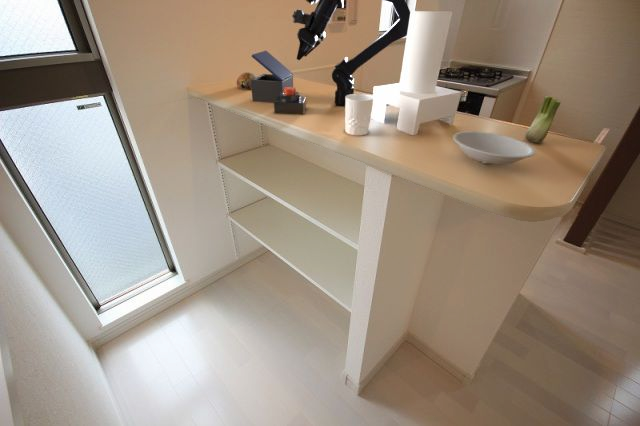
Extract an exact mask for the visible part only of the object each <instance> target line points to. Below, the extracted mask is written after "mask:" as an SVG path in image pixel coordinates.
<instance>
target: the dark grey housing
mask: <svg viewBox="0 0 640 426" xmlns="http://www.w3.org/2000/svg"><path fill="white" fill-rule="evenodd" d="M250 82H251V89H250V90H251V99H252V102H260V103H269V104H274V101H275V100H276V99H277V97H278V96H280V93H281V92H284V88H285V87H294V75H292V76H290V77H288V78H287V79H285V80H283V81H280V80H279V79H278V78H276V77H275V76H274V75H273V74H272V73H262V74H260V75H258V76H256V78H253V79H251V80H250Z"/></svg>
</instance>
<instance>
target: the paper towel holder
mask: <svg viewBox="0 0 640 426" xmlns="http://www.w3.org/2000/svg"><path fill="white" fill-rule="evenodd" d="M452 16H453V11H435V10H434V11H433V10H410V19H409V25H408V31H407V36H406V37H405V45H404V51H403V52H404V53H403V57H402V64H401V71H400V77H399V82H397V83H390V84H384V85H376V86H373V89H372V97H373V98H374V99H373V106H372V112H371V118H370V120H373V121H376V122H377V123H378V122H379V123H381V124H385V117H386V111H387V107H388V106H392V107H394V108H398V109H399V110H398V115H397V116H398V117H397V123H396V130H398V131H400V132H403V133H406V134H407V135H411V136H416V135H418V132H419V128H420V124H425V123H427V122H432V121H436V120H437V121H440V122H444V123H446V124H449V125H448V126H453V125H454V122H455V118H456V115H457V111H458V108H459V104H460V100H461V96H462V91H459V90H456V89H451V88H446V87H443V86H438V79H439V75H440V71H441V67H442V66H441V65H442V61H443V56H444V53H445V49H446V43H447V39H448V34H449V29H450V25H451V21H452Z"/></svg>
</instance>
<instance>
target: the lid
mask: <svg viewBox="0 0 640 426" xmlns="http://www.w3.org/2000/svg"><path fill="white" fill-rule="evenodd" d="M251 58H252V59H253V60H255V61H256V62H257V63H258V64H260V65H261V66H262V67H263V68H264V69H266V70H267V71H268V72H269V74H273V75H274V76H275V77H276V78H278V79H279V80H280V81H283V80H285V79H287V78H288V77H290V76H294V73H293V72H292V71H291V70H290V69H288V68H287V66H285V65H284V64H283V63H281V62H280V61H279V60H278V59H277V58H276V57H275V56H274V55H272V53H270V52H268V50H263V51H259V52H256V53H252V54H251Z"/></svg>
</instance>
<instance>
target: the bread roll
mask: <svg viewBox="0 0 640 426" xmlns="http://www.w3.org/2000/svg"><path fill="white" fill-rule="evenodd" d="M256 77H257V75H255V74H254V73H253V72H249V71H246V72H243V73H241V74H240V75H239V76H238V77H237V79H236V87H237V88H238V89H239V90H251V82H250V80H251V79H253V78H256Z"/></svg>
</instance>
